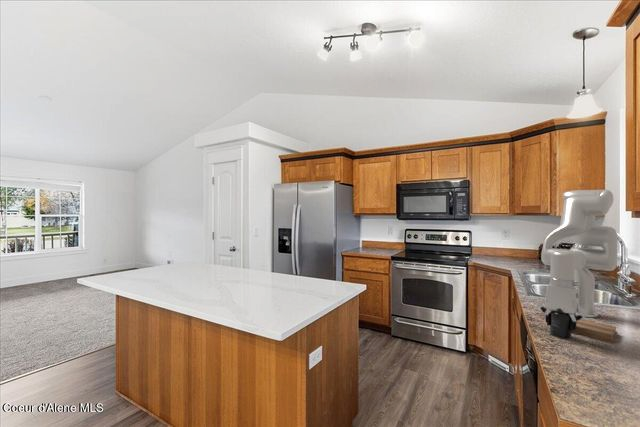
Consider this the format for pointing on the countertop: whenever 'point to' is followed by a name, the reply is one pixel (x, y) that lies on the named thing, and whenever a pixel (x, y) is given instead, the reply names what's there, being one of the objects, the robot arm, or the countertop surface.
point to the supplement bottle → (560, 324)
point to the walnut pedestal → (595, 330)
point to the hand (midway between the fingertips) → (560, 327)
